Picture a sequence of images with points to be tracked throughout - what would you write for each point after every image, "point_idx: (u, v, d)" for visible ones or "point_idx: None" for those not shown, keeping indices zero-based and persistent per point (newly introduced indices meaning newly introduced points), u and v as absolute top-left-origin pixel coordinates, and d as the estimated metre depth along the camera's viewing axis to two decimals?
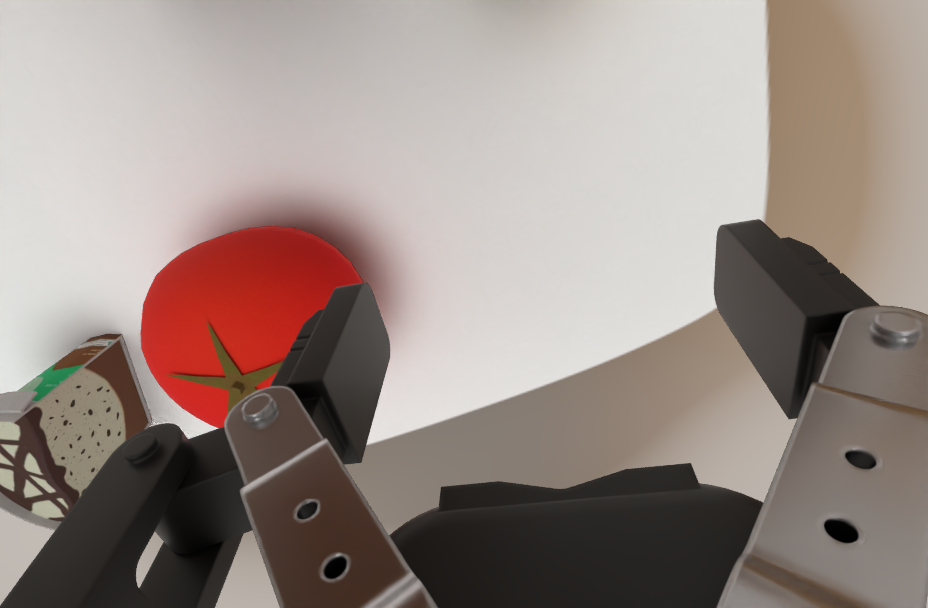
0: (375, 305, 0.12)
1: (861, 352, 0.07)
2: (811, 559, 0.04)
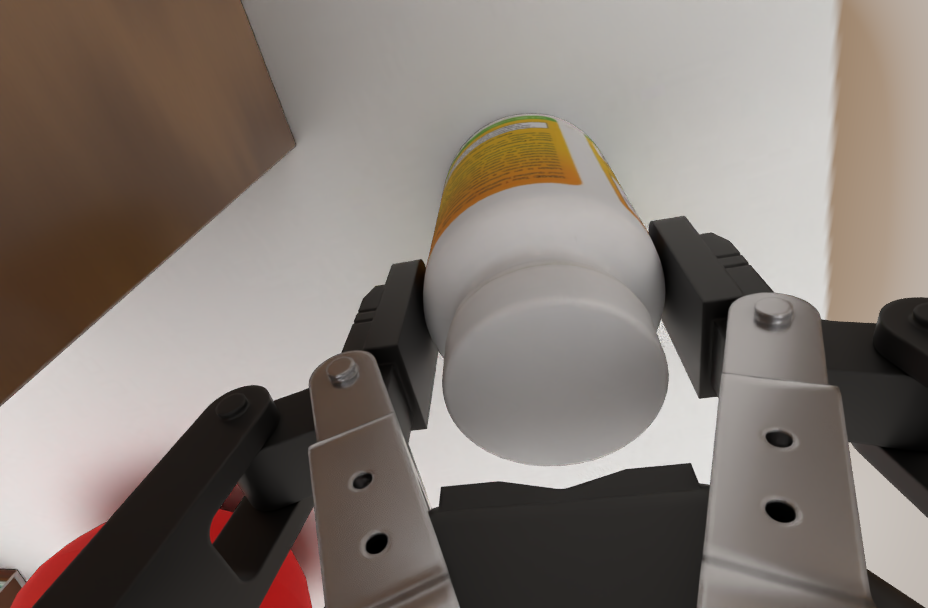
0: None
1: (750, 337, 0.07)
2: (762, 545, 0.05)
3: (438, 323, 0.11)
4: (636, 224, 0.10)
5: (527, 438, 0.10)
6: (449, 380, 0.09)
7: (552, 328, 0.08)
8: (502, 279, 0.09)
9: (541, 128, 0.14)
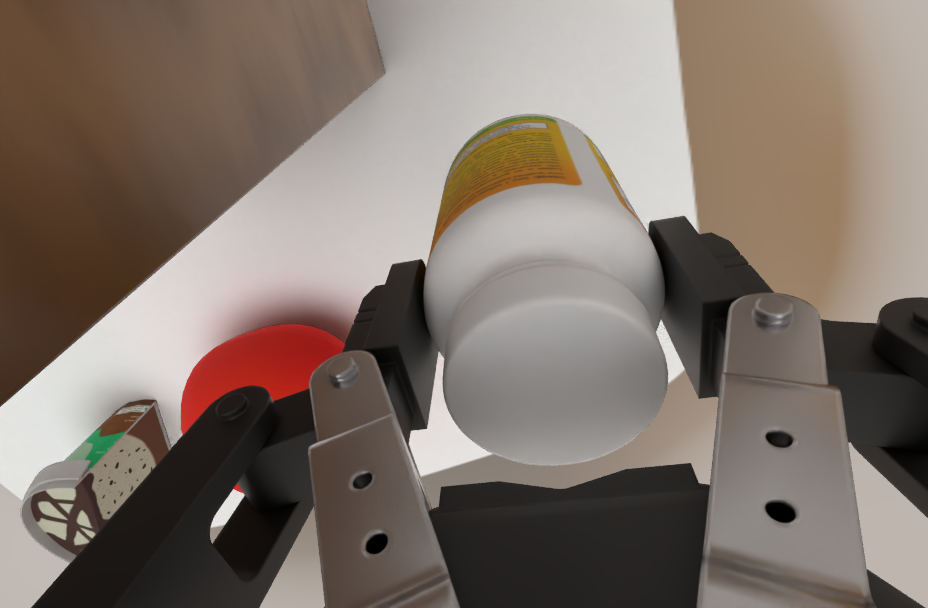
0: None
1: (750, 337, 0.07)
2: (762, 545, 0.05)
3: (438, 322, 0.11)
4: (636, 224, 0.10)
5: (527, 438, 0.10)
6: (449, 380, 0.09)
7: (552, 328, 0.08)
8: (502, 279, 0.09)
9: (541, 128, 0.14)
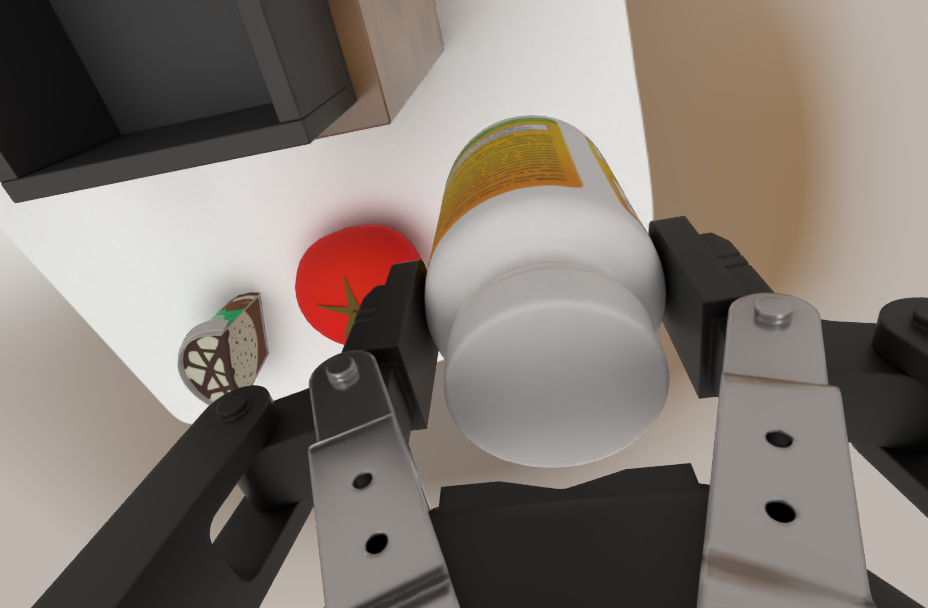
0: None
1: (750, 337, 0.07)
2: (762, 546, 0.05)
3: (439, 324, 0.11)
4: (637, 226, 0.10)
5: (528, 440, 0.10)
6: (451, 382, 0.09)
7: (554, 331, 0.08)
8: (504, 282, 0.09)
9: (542, 130, 0.14)
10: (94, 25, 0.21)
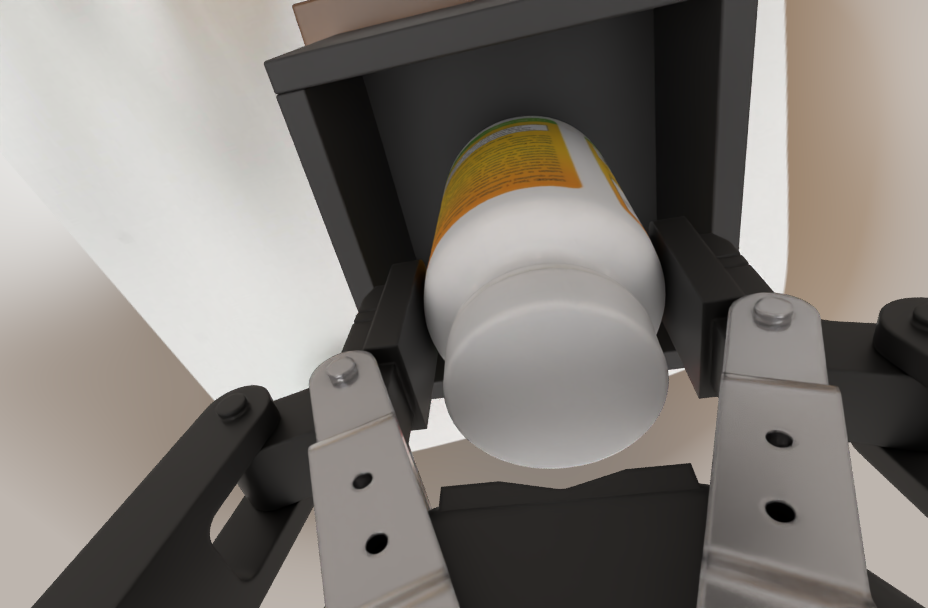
0: None
1: (750, 337, 0.07)
2: (762, 546, 0.05)
3: (438, 325, 0.11)
4: (636, 227, 0.10)
5: (527, 441, 0.10)
6: (450, 383, 0.09)
7: (553, 331, 0.08)
8: (502, 282, 0.09)
9: (541, 131, 0.14)
10: (433, 204, 0.21)
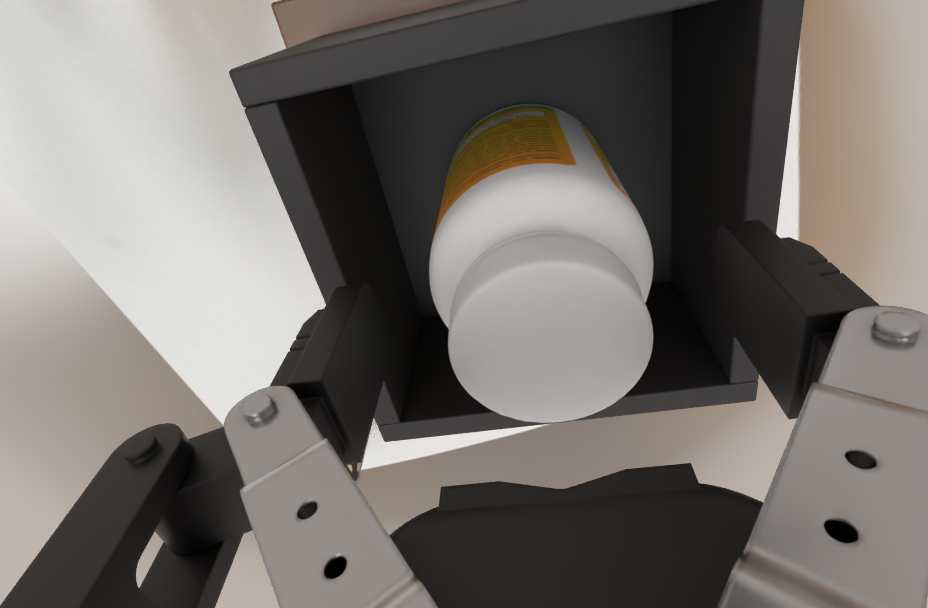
0: (375, 305, 0.12)
1: (860, 352, 0.07)
2: (811, 559, 0.04)
3: (443, 294, 0.12)
4: (625, 201, 0.11)
5: (525, 395, 0.11)
6: (454, 339, 0.10)
7: (547, 290, 0.09)
8: (502, 248, 0.10)
9: (539, 116, 0.15)
10: (428, 220, 0.19)
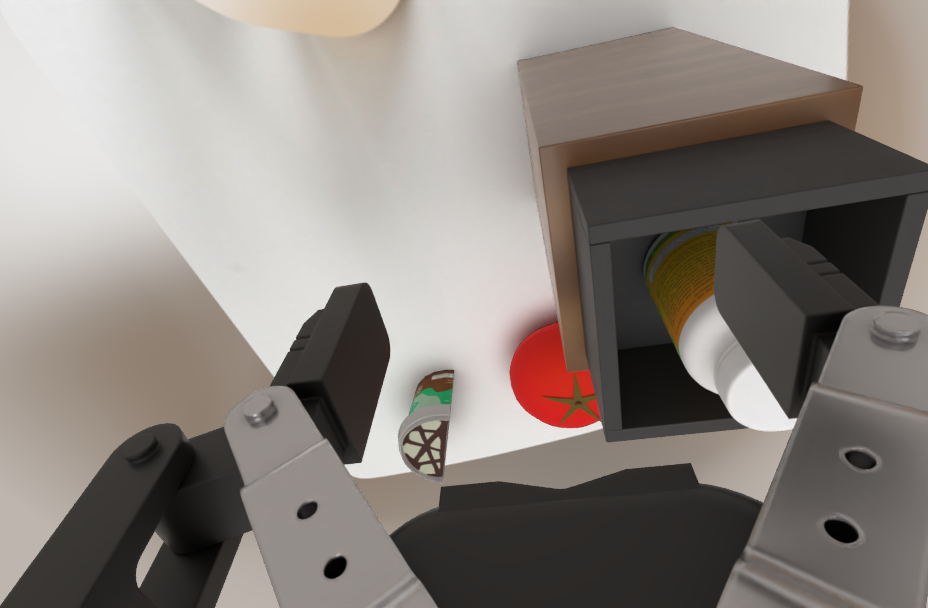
0: (375, 305, 0.12)
1: (860, 352, 0.07)
2: (811, 559, 0.04)
3: (698, 353, 0.20)
4: None
5: (764, 415, 0.19)
6: (735, 385, 0.18)
7: None
8: None
9: None
10: (621, 286, 0.27)
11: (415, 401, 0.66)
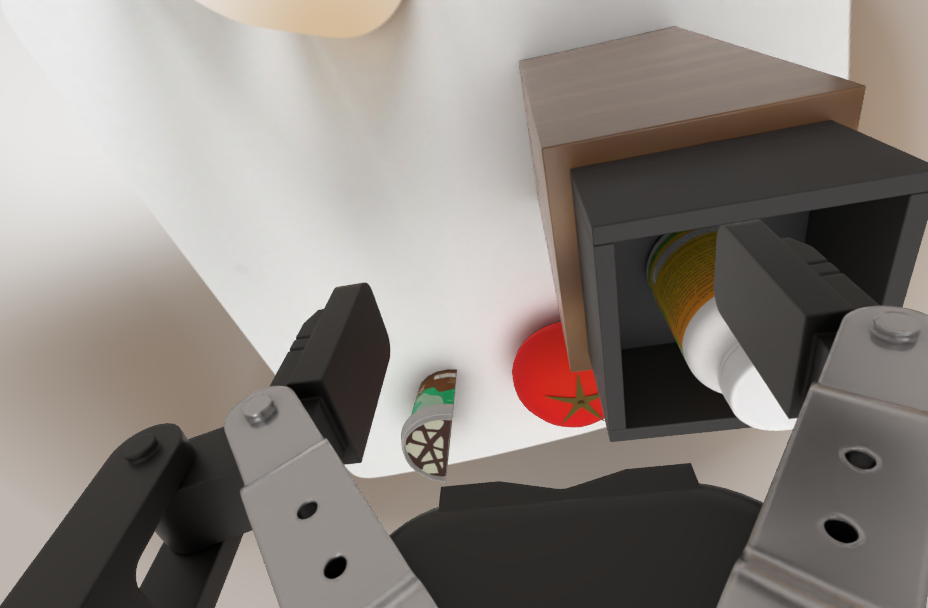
0: (375, 305, 0.12)
1: (861, 352, 0.07)
2: (811, 559, 0.04)
3: (702, 353, 0.20)
4: None
5: (768, 415, 0.19)
6: (739, 385, 0.18)
7: None
8: None
9: None
10: (624, 286, 0.27)
11: (418, 401, 0.66)
